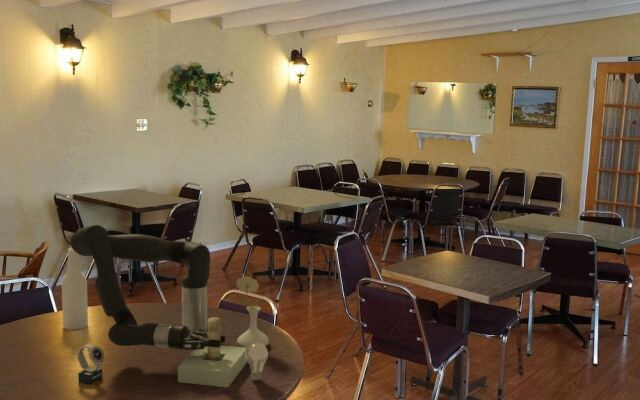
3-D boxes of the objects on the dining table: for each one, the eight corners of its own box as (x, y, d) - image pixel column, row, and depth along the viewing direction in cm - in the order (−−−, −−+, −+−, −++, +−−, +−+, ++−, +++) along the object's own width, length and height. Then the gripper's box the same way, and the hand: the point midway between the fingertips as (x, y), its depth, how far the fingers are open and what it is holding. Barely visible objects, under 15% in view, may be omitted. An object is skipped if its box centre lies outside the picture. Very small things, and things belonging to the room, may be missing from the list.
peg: (209, 364, 210) (210, 316, 207) (221, 365, 209) (222, 317, 207) (205, 369, 206) (205, 320, 203) (217, 370, 205) (218, 322, 203)
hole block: (201, 357, 219) (201, 343, 218) (247, 362, 216) (247, 347, 215) (177, 382, 199) (177, 366, 198) (228, 387, 196) (228, 371, 196)
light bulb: (245, 375, 205) (246, 339, 203) (267, 375, 206) (268, 339, 204) (244, 385, 198) (245, 347, 196) (267, 385, 199) (268, 347, 197)
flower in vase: (274, 343, 233) (276, 275, 230) (258, 354, 223) (260, 283, 220) (243, 337, 239) (244, 271, 235) (226, 347, 229) (227, 278, 225)
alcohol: (57, 328, 242) (55, 249, 238) (74, 321, 251) (72, 245, 246) (76, 332, 239) (74, 252, 235) (93, 324, 247) (91, 247, 243)
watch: (95, 386, 195) (94, 351, 193) (73, 381, 198) (72, 346, 196) (107, 378, 200) (107, 344, 198) (86, 374, 203) (85, 340, 201)
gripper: (162, 332, 201) (215, 337, 198) (179, 318, 215) (229, 322, 212) (162, 355, 202) (215, 361, 199) (179, 339, 216) (229, 344, 213)
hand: (222, 341), depth 206 cm, fingers closed on peg, 4 cm apart
